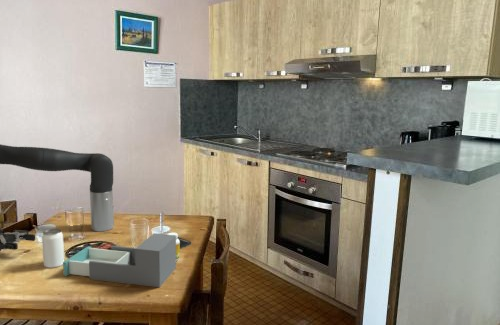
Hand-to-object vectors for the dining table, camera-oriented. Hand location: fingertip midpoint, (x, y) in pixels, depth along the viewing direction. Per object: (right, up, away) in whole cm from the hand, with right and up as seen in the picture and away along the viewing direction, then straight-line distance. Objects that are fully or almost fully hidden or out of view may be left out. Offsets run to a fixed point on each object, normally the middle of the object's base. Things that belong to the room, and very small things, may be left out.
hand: (26, 242), depth 137 cm
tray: (+28, -9, -4) cm, 29 cm away
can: (+10, -8, 0) cm, 13 cm away
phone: (+47, -5, +23) cm, 53 cm away
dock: (+40, -9, -6) cm, 41 cm away
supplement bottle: (+50, -8, +7) cm, 51 cm away
